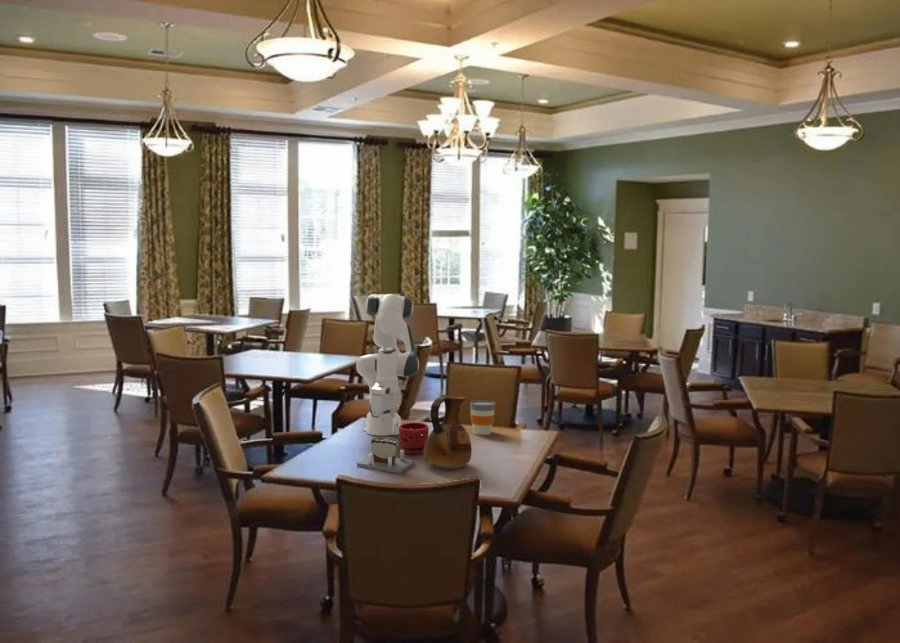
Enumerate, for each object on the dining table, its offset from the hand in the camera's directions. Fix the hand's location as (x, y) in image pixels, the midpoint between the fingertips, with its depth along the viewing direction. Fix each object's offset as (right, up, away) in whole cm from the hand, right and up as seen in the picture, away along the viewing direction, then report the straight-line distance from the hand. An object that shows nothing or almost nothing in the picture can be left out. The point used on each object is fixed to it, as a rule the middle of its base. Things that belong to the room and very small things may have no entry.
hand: (386, 419), depth 322 cm
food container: (0, -18, +2) cm, 18 cm away
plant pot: (+10, -18, +24) cm, 31 cm away
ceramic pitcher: (+25, -20, +3) cm, 32 cm away
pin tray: (0, -19, +2) cm, 19 cm away
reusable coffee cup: (+42, -14, +61) cm, 75 cm away
